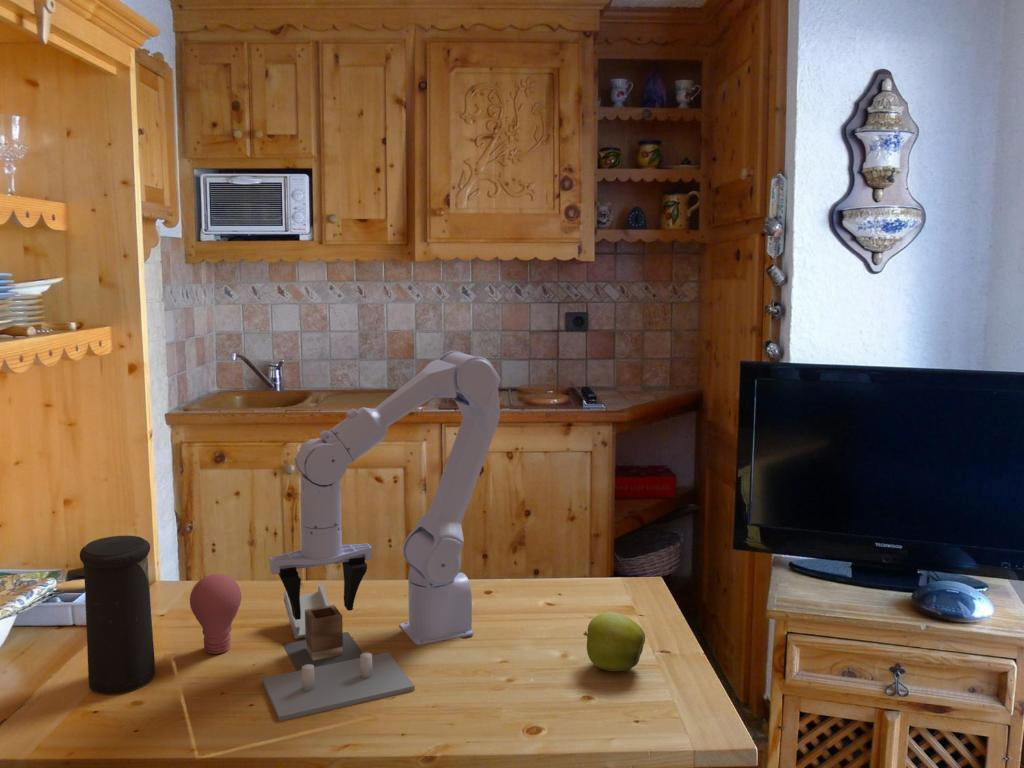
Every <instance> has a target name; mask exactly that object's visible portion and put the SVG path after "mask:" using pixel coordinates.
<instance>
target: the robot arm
mask: <svg viewBox="0 0 1024 768" xmlns="http://www.w3.org/2000/svg"><path fill="white" fill-rule="evenodd" d="M501 380H502V379H501V377H500V376H499V374H498V373H497V370H496V369H495V367H494V365H493V364H492V363H491V361H490V360H488V359H487V358H485V357H482V356H478V355H477V356H476V355H475V356H474V355H471V354H466V353H464V352H462V351H458V350H450V351H447V352H445V353H444V354H442V355H441V356H440V357H439V359H438V358H437V359H435V360H433V361H430V362H429V363H428V364H427V365H426V366H425V367H424V368H423V369H422V370H421V371H420V372H418V374H416V375H415V376H414V377H412V378H410V380H409V381H407V382H406V383H404V385H402V386H401V387H400V388H398V389H397V390H396V391H395V392H393V393H392V394H391V395H389V396H388V397H387V398H385V400H383V401H382V402H380V403H379V404H378V405H377V406H376V407H374V408H368V407H364V406H362V407H360V408H359V409H355V408H352V409H350V410H349V411H347V412H346V415H347V417H346V418H345V419H343V420H342V421H340V422H339V423H337V424H336V425H334V426H333V427H331V428H330V429H329V430H325V429H323V430H322V431H321V432H320V433H319V435H320V438H318V437H317V438H311V439H308V440H306V441H305V442H304V443H303V444H302V445H301V446H300V447H299V450H298V451H297V452H296V453H297V454H296V457H295V458H294V459H293V460H294V464H295V466H296V468H297V470H298V471H299V472H300V473H301V475H300V493H299V496H300V506H299V507H300V527H301V528H300V535H301V536H300V537H301V540H300V541H301V542H300V543H301V545H300V546H301V547H300V548H301V549H298V550H294V551H291V552H287V553H283V554H280V555H276V556H275V555H274V556H270V557H269V570H270V572H271V574H272V575H278V576H279V578H280V581H281V582H282V584H283V586H284V588H285V589H286V591H287V594H288V597H289V600H290V603H291V608H292V614H293V616H294V618H295V620H298V619H301V609H300V595H301V582H302V579H301V577H300V575H299V571H298V570H299V569H307V568H314V567H320V566H326V565H327V566H328V565H333V564H341V563H342V572H343V585H344V586H343V604H344V605H343V606H344V607H345V609H346V610H347V611H348V612H349V611H353V608H354V603H355V599H356V595H357V592H358V589H359V587H360V584H361V582H362V580H363V578H364V576H365V575H366V573H367V570H368V564H367V562H366V561H371V560H373V547H372V546H371V545H370V544H369V543H360V544H343V543H342V542H343V541H342V540H343V539H342V538H343V537H342V533H343V532H342V491H341V479H342V478H343V477H344V476H345V473H346V470H347V467H348V466H349V465H352V464H353V462H355V461H357V460H358V459H359V458H361V457H362V456H363V455H365V454H366V453H367V452H369V451H371V450H372V449H373V448H375V446H377V445H378V444H380V443H382V442H383V441H384V440H385V439H386V436H387V432H388V428H389V426H391V425H393V424H394V423H396V422H397V421H399V420H400V419H402V418H403V417H405V416H406V415H408V414H409V413H411V412H413V411H414V410H416V409H417V408H419V407H421V406H422V405H424V404H425V403H427V402H429V401H430V400H431V399H435V398H436V399H437V398H439V399H441V398H442V399H444V398H448V399H449V398H451V399H453V400H454V402H455V404H456V406H457V407H458V409H459V411H460V413H461V415H462V419H461V423H460V424H459V425H460V426H459V428H458V431H457V432H456V433H457V434H456V436H455V438H454V441H453V445H452V447H451V450H450V453H449V455H448V457H447V461H446V464H445V466H444V469H443V472H442V475H441V477H440V480H439V483H438V484H437V488H436V490H435V494H434V496H433V499H432V500H431V504H430V507H429V509H428V512H426V513H425V514H423V515H422V516H421V517H419V519H418V520H417V522H416V524H415V527H414V528H413V530H412V531H411V532H410V533H409V534H408V535H407V537H406V538H405V540H404V542H403V545H402V555H403V557H404V559H405V561H406V562H407V563H408V564H409V572H408V577H407V578H408V583H407V585H408V587H407V588H408V589H407V590H408V621H405V622H401V623H400V624H399V627H400V628H401V629H402V630H403V631H404V633H405V634H406V635H407V637H409V638H410V640H411V641H412V642H413V643H414V644H415V645H417V646H422V645H427V644H431V643H436V642H437V643H438V642H440V641H441V642H442V641H446V640H450V639H451V640H452V639H455V638H465V637H470V636H473V635H474V630H472V628H473V626H472V625H473V624H472V621H473V620H472V619H473V618H472V617H473V616H472V615H473V614H472V612H473V611H472V609H473V608H472V607H473V605H472V604H473V603H472V602H473V601H472V600H473V597H472V596H473V594H472V587H471V583H470V581H469V578H468V576H467V575H466V574H465V573H464V572H460V571H461V567H462V550H463V546H464V544H465V540H464V539H465V538H464V533H463V529H462V523H463V520H464V517H465V515H466V512H467V509H468V506H469V503H470V501H471V498H472V496H473V492H474V490H475V487H476V484H477V482H478V479H479V477H480V474H481V470H482V468H483V464H484V463H485V460H486V457H487V455H488V452H489V449H490V446H491V444H492V441H493V438H494V437H495V436H494V435H495V433H496V430H497V427H498V425H499V421H500V417H501V410H500V409H501V406H500V398H499V387H500V384H501ZM285 589H284V590H285Z"/></svg>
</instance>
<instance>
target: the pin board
mask: <svg viewBox="0 0 1024 768" xmlns="http://www.w3.org/2000/svg"><path fill="white" fill-rule="evenodd" d="M261 679H262V680H261V683H262V685H263V687H264V689H265V692H266V694H267V696H268V699H269V701H270V704H271V705H272V707H273V710H274V713H275V714H276V718H278V721H279V722H283V721H286V720H287V721H288V720H291V719H296V718H300V717H305V716H308V715H309V716H310V715H314V714H318V713H322V712H326V711H331V710H335V709H340V708H343V707H344V708H345V707H348V706H352V705H357V704H362V703H365V702H370V701H374V700H380V699H384V698H388V697H393V696H396V695H401V694H405V693H409V692H413V691H415V690H416V689H415V687H416V686H415V684H414V683H413V681H412V680H411V679H410V678H409V677H408V676H407V674H406V673H405V672H404V671H403V669H402V668H401V666H400V665H399V664H398V662H396V660H395V659H394V658H393V657H392V655H391V654H390V653H389V652H383V653H378V654H374V655H373V654H372V653H371V652H363V653H362V654H361V655H360V658H358V659H353V660H348V661H343V662H338V663H333V664H328V665H324V666H319V667H314V666H313V665H311V664H307V665H304V666H302V670H299V671H297V670H295V671H291V672H285V673H279V674H275V675H270V676H267V677H266V676H265V677H262V678H261Z"/></svg>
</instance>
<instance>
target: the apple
mask: <svg viewBox="0 0 1024 768" xmlns="http://www.w3.org/2000/svg"><path fill="white" fill-rule="evenodd" d="M582 635H583V636H586V638H587V639H586V652H587V656H588V658H589V660H590V662H591V663H592V664H593V665H595V667H597V668H599V669H601V670H603V671H609V672H620V671H626V670H629V669H632V668H635V666H637V665H638V663H639V661H640V657H641V655H642V653H643V650H644V645H645V643H646V642H645V641H646V633H645V632H644V630H643V627H641V626H640V625H639V624H638V623H637V622H636V621H634V620H633V619H631V618H630V617H628V616H627V615H624V614H622V613H619V612H616V611H615V612H614V611H606V612H602V613H601V612H600V613H599V614H598V615H595V617H593V618H592V619H591V620H590V621H589V623H588V625H587V631H584V632H583V634H582Z"/></svg>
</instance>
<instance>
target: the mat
mask: <svg viewBox="0 0 1024 768" xmlns="http://www.w3.org/2000/svg"><path fill="white" fill-rule="evenodd" d="M282 646H283V648H284V650H285V651H286V653H287V655H288V657H289V660H291V663H292V664H293V666H294V668H295V671H299V670H302V666H304V665H307V664H311V665H313V666H314V667H319V666H324V665H328V664H333V663H338V662H343V661H348V660H353V659H358V658H360V655H361V654H362V653H364V652H363V651H362V649H361V648H360V647H359V645H358V644H357V642H356V641H355V640H354V638H353V637H352V636H351V635H350V633H349V631H345V632H343V655H339V656H334V657H329V658H324V659H319V660H314V661H313V660H312V658H311V656H310V654H309V653H308V651H307V649H306V639H302V640H299V641H292V642H287V643H283V644H282Z"/></svg>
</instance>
